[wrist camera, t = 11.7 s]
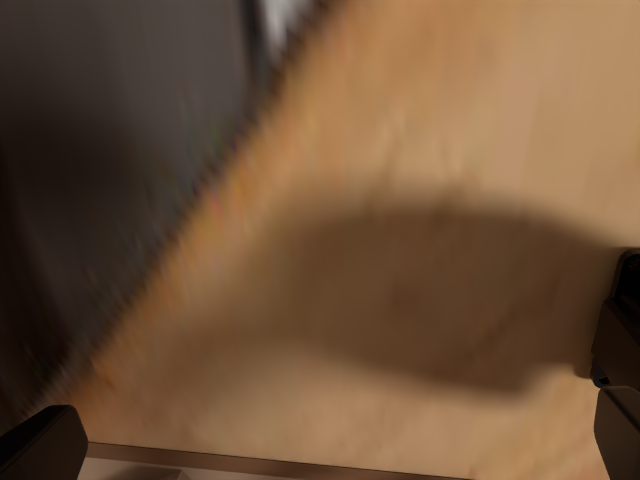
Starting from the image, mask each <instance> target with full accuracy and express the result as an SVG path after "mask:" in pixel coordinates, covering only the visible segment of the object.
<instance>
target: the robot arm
mask: <svg viewBox="0 0 640 480" xmlns="http://www.w3.org/2000/svg"><path fill="white" fill-rule="evenodd" d="M636 259H639V262H638V263H637V264H636V265H635V266H632V267H629V264H630V263H631V262H632V261H633V260H636ZM591 352H592V353H593V355H594V359H593V363H592V367H591V371H590V378H591V379H592V381H593V383H594V385H595V386H596V387H598V388H601V389H600V391H599V393H598V399H597V406H596V413H595V420H594V435H595V439H596V442H597V445H598V448H599V450H600V453H601V456H602V459H603V461H604V464H605V467H606V469H607V472H608V475H609V478H610V480H640V250H636V249H634V250H629V251H626V252H624V253H623V254H622V255H621V256H620V258H619V260H618V264H617V268H616V272H615V276H614V280H613V284H612V288H611V292H610V295H609V297H608V298H607V299H606V300H605V301H604V302H603V304H602V308H601V312H600V316H599V320H598V324H597V328H596V332H595V336H594V340H593V344H592V348H591ZM603 375H606V376H607V377H605V378H602V379H600V377H601V376H603ZM87 450H88V438H87V435H86V432H85V430H84V427H83V425H82V422H81V419H80V417H79V414H78V412H77V410H76V408H75V407H74V406H72V405H52V406H48V407H46V408H45V409H43V410H42V411H40V412H38V413H37V414H35V415H34V416H32V417H31V418H29V419H27V420H26V421H24V422H23V423H21V424H20V425H18V426H16V427H15V428H13V429H12V430H10V431H8V432H7V433H5V434H4V435H2V436H1V437H0V480H77V479H78V476H79V473H80V470H81V468H82V465H83V462H84V460H85V457H86V454H87Z"/></svg>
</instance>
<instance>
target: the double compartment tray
mask: <svg viewBox="0 0 640 480" xmlns="http://www.w3.org/2000/svg"><path fill="white" fill-rule="evenodd" d="M77 480H464V479H454V478H444V477H434V476H424V475H414V474H403V473H393V472H383V471H373V470H363V469H353V468H342V467H332V466H322V465H312V464H302V463H292V462H281V461H271V460H261V459H251V458H241V457H231V456H221V455H210V454H200V453H190V452H180V451H170V450H160V449H149V448H139V447H129V446H119V445H109V444H99V443H88V450H87V454H86V457H85V460H84V462H83V465H82V468H81V470H80V473H79V476H78V479H77Z"/></svg>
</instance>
